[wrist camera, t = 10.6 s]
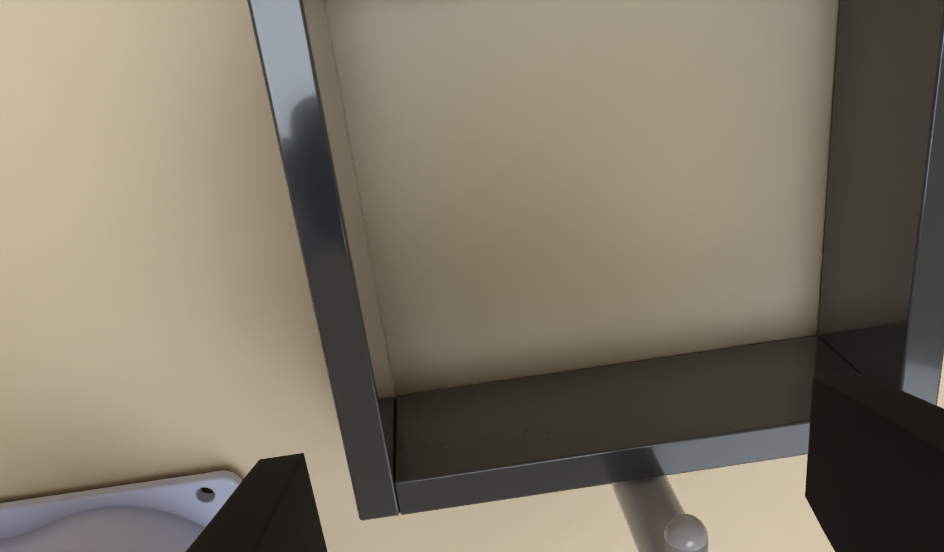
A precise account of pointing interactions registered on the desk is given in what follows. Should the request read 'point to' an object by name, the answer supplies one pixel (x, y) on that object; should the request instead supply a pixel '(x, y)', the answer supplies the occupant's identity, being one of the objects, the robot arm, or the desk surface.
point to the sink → (643, 382)
